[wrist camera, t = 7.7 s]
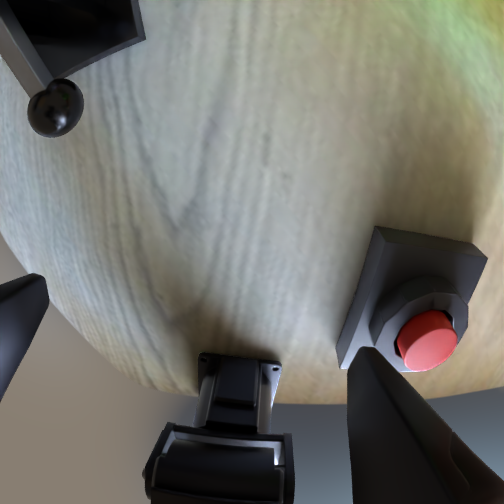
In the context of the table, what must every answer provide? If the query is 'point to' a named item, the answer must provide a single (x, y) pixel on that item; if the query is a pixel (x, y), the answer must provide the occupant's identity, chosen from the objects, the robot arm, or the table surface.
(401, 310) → the control block
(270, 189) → the table surface
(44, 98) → the lever
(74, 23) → the bracket
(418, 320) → the button
